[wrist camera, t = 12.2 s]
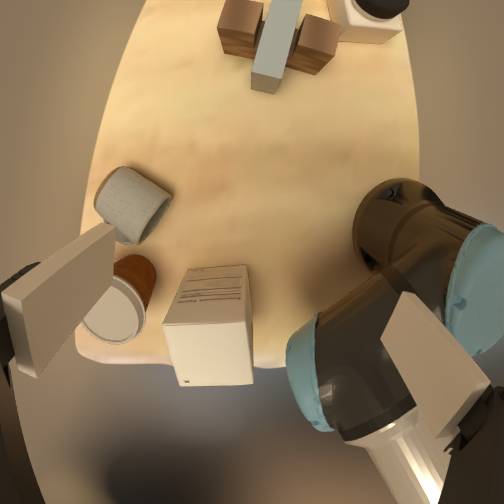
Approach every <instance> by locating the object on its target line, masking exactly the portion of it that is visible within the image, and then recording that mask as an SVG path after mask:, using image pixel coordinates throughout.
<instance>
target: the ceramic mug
mask: <svg viewBox="0 0 504 504" xmlns="http://www.w3.org/2000/svg"><path fill="white" fill-rule="evenodd" d="M170 201H171V195H170V194H169V193H167V192H166V191H164V190H163V189H161V188H160V187H158V186H157V185H155V184H154V183H152V182H151V181H149V180H147V179H146V178H144V177H143V176H141V175H140V174H139V173H137V172H136V171H134V170H132V169H130V168H128V167H124V166H122V167H118V168H116V169H114V170H113V171H112V172H110V173H109V174H108V175H107V177H106V178H105V179H104V180H103V182H102V183H101V185H100V186H99V188H98V190H97V192H96V195H95V198H94V208H95V210H96V211H97V213H98V214H99V215H100V216H101V217H102V218H103V219H104V223H105V224H110V225H114V226H117V231H116V241H117V242H119V243H121V244H124V245H129V244H132V243H135V244H137V245H139V244H141V243H142V242H143V241H144V240H145V239H146V238H147V237H148V235H149V234H150V233H151V232H152V230H153V229H154V228H155V226H156V225H157V224H158V222H159V220H160V219H161V217H162V216H163V214H164V213H165V211H166V210H167V207H168V206H169V203H170Z"/></svg>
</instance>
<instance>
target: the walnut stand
mask: <svg viewBox="0 0 504 504" xmlns="http://www.w3.org/2000/svg"><path fill="white" fill-rule="evenodd" d="M263 4H264V3H260V2H255V1H249V0H226V1H225V4H224V7H223V10H222V13H221V16H220V19H219V22H218V25H217V30H218V34H219V37H220V40H221V43H222V47H223V50H224V54H230V55H235V56H241V57H246V58H250V59H255V56H256V53H257V49H258V46H259V42H260V39H261V35H262V32H263V28H264V25H265V21H262V14H263ZM341 26H342V25H340V24H337V23H335V22H332V21H329V20H325V19H322V18H319V17H316V16H313V15H309V14H306V15H305V17H304V19H303V22H302V24H301V26H300V28H299V30H298V29H295V30H294V34H293V38H292V42H291V45H290V49H289V53H288V57H287V61H286V64H285V67H288V68H292V69H295V70H299V71H302V72H306V73H309V74H312V75H316V74H317V73H318V72H319V71H320V70H321V69H322V68H323V67H324V66H325V65H326V64H327V63H328V62H329V61H330V60H331V59H332V58H333V57H334V56H335V52H336V48H337V43H338V39H339V35H340V31H341Z"/></svg>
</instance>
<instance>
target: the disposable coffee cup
mask: <svg viewBox="0 0 504 504" xmlns="http://www.w3.org/2000/svg"><path fill="white" fill-rule="evenodd" d="M155 282H156V272H155V269H154V267H153V265H152V264H151V263H150V262H149V261H148V260H147V259H146V258H144V257H142V256H140V255H128V256H126V257H124V258H123V259H121V260H120V261H118V262H116V263H115V264H114V269H113V284H112V285H111V286H110V287H109V289H108V290H107V291H106V292H105V293H104V294H103V296H102V297H101V298H100V299H99V300H98V302H97V303H96V304H95V305H94V306H93V308H92V309H91V310H90V311H89V312H88V314H87V315H86V316H85V317H84V319H83V320H82V321H81V324H82V325H83V327H84V328H85V329H86V330H87V331H88V332H89V333H90V334H91V335H92V336H94V337H95V338H96V339H98V340H100V341H102V342H105V343H108V344H114V345H119V344H124V343H127V342H129V341H130V340H133V339H134V338H136V337H138V336H139V335H140V333H141V332H142V330H143V328H144V326H145V322H146V310H147V307H148V303H149V300H150V297H151V294H152V291H153V288H154V285H155Z"/></svg>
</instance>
